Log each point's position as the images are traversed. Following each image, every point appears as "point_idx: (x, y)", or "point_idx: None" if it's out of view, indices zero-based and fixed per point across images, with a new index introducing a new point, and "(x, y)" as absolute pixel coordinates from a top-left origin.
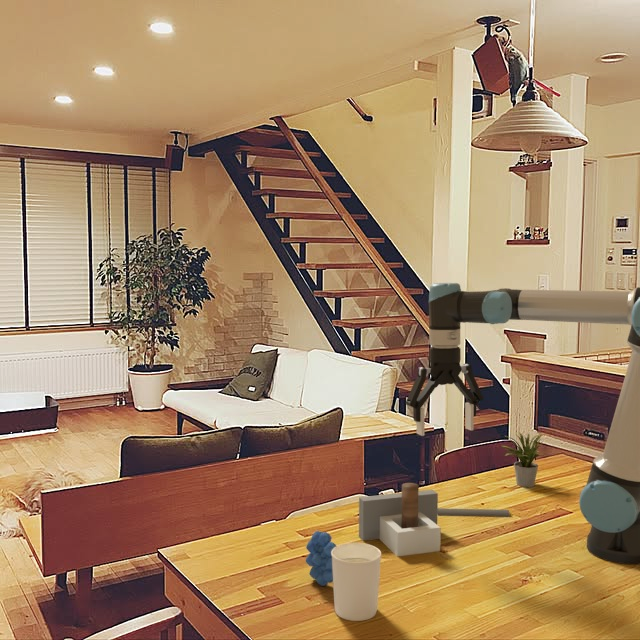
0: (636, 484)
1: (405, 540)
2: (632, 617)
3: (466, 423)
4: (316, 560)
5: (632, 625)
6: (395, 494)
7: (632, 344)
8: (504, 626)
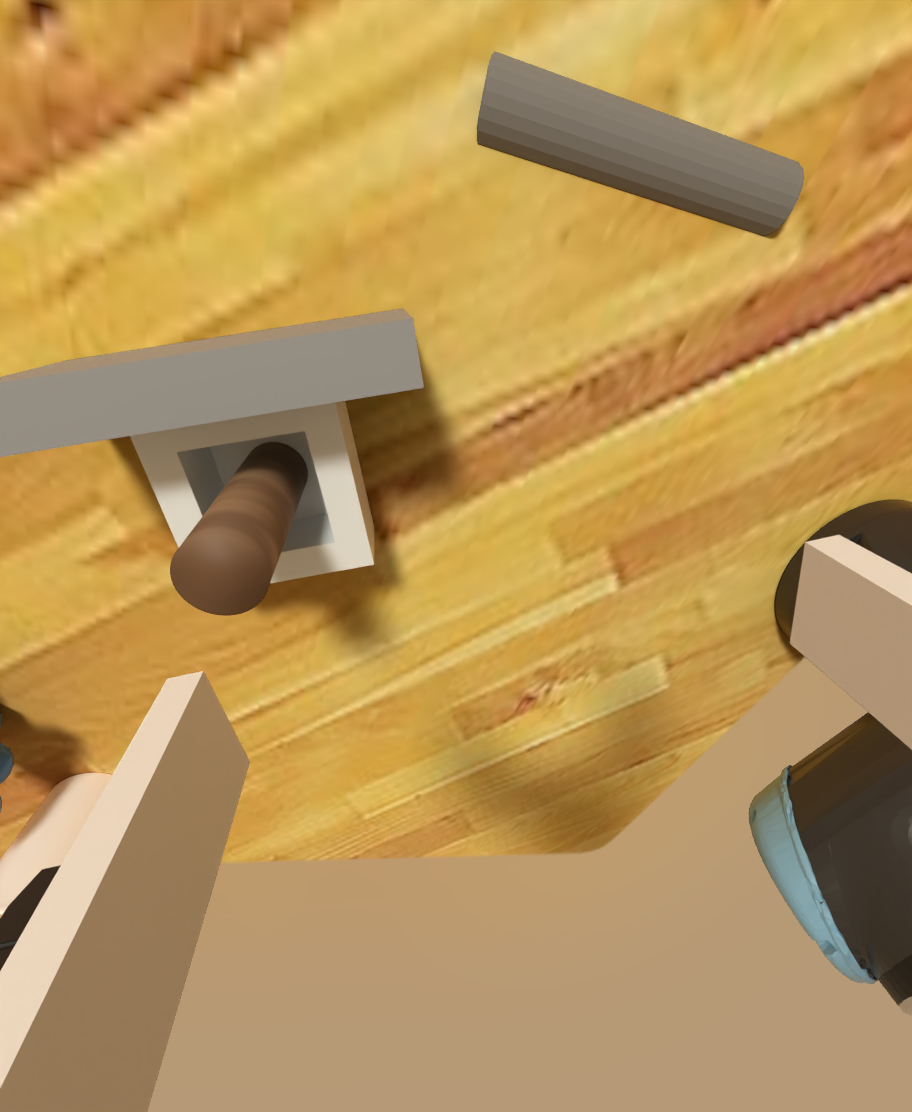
0: None
1: None
2: (635, 815)
3: (851, 598)
4: None
5: (616, 833)
6: (177, 374)
7: None
8: (402, 840)
